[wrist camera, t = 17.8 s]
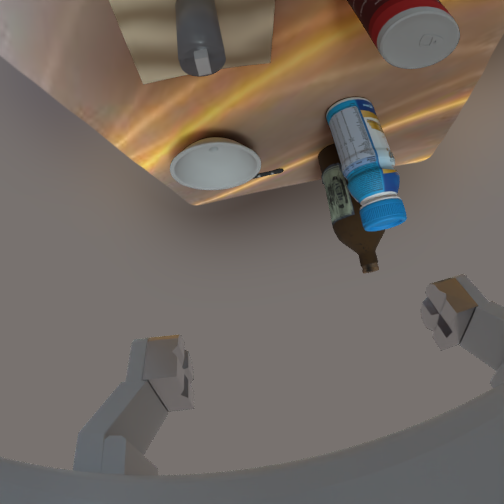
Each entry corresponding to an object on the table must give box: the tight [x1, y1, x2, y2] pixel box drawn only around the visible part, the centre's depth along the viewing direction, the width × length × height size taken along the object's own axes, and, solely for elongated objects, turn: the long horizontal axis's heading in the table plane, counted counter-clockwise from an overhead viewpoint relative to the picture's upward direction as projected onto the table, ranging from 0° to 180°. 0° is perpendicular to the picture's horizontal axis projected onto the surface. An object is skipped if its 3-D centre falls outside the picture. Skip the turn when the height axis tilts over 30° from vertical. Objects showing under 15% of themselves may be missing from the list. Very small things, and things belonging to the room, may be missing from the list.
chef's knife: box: [252, 169, 284, 179], centre depth 68 cm, size 19×1×3 cm
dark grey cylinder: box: [175, 0, 226, 76], centre depth 22 cm, size 4×4×9 cm
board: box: [109, 0, 275, 85], centre depth 23 cm, size 20×15×2 cm
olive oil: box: [318, 144, 385, 273], centre depth 61 cm, size 11×11×25 cm
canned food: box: [347, 0, 460, 69], centre depth 21 cm, size 8×8×11 cm
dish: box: [170, 137, 261, 190], centre depth 52 cm, size 18×14×5 cm
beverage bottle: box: [326, 97, 407, 231], centre depth 46 cm, size 8×8×20 cm
